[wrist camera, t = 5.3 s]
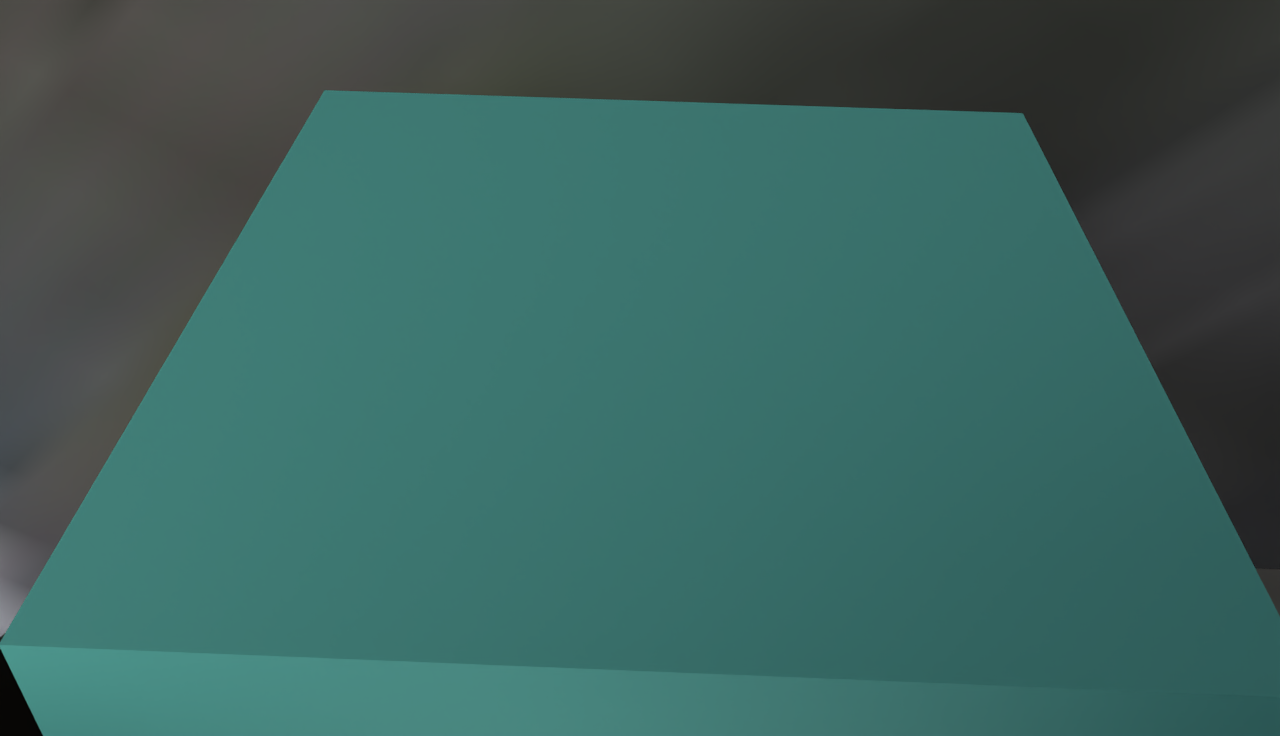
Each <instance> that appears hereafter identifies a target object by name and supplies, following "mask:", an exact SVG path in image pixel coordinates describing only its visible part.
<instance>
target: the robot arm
mask: <svg viewBox="0 0 1280 736" xmlns="http://www.w3.org/2000/svg"><path fill="white" fill-rule="evenodd" d="M4 635H5V634H4ZM4 635H2V636H1V637H0V642H1V640H2V638H3V637H4ZM0 736H43V735H42V732H41V730H40V728H39V726H38V724H37V722H36V720H35V718H34V716H33V714H32V712H31V710H30V708H29V706H28V704H27V702H26V700H25V698H24V696H23V694H22V692H21V690H20V688H19V686H18V684H17V681H16V679H15V677H14V675H13V673H12V671H11V669H10V667H9V665H8V663H7V661H6V659H5V657H4V655H3V653H2V651H1V649H0Z"/></svg>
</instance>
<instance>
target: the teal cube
mask: <svg viewBox="0 0 1280 736" xmlns="http://www.w3.org/2000/svg"><path fill="white" fill-rule="evenodd" d="M0 649H1V651H2V653H3V655H4V657H5V659H6V661H7V663H8V665H9V667H10V669H11V671H12V673H13V675H14V677H15V679H16V681H17V684H18V686H19V688H20V690H21V692H22V694H23V696H24V698H25V700H26V702H27V704H28V706H29V708H30V710H31V712H32V714H33V716H34V718H35V720H36V722H37V724H38V726H39V728H40V730H41V732H42V735H43V736H1280V616H1279V614H1278V612H1277V610H1276V608H1275V606H1274V604H1273V602H1272V600H1271V598H1270V596H1269V594H1268V592H1267V590H1266V588H1265V587H1264V585H1263V583H1262V581H1261V579H1260V577H1259V575H1258V573H1257V571H1256V569H1255V567H1254V565H1253V563H1252V561H1251V559H1250V557H1249V555H1248V553H1247V551H1246V549H1245V547H1244V545H1243V543H1242V541H1241V540H1240V538H1239V536H1238V534H1237V532H1236V530H1235V528H1234V526H1233V524H1232V522H1231V520H1230V518H1229V516H1228V514H1227V512H1226V510H1225V508H1224V506H1223V504H1222V502H1221V500H1220V498H1219V496H1218V495H1217V493H1216V491H1215V489H1214V487H1213V485H1212V483H1211V481H1210V479H1209V477H1208V475H1207V473H1206V471H1205V469H1204V467H1203V465H1202V463H1201V461H1200V459H1199V457H1198V455H1197V453H1196V451H1195V449H1194V448H1193V446H1192V444H1191V442H1190V440H1189V438H1188V436H1187V434H1186V432H1185V430H1184V428H1183V426H1182V424H1181V422H1180V420H1179V418H1178V416H1177V414H1176V412H1175V410H1174V408H1173V406H1172V404H1171V402H1170V401H1169V399H1168V397H1167V395H1166V393H1165V391H1164V389H1163V387H1162V385H1161V383H1160V381H1159V379H1158V377H1157V375H1156V373H1155V371H1154V369H1153V367H1152V365H1151V363H1150V361H1149V359H1148V357H1147V356H1146V354H1145V352H1144V350H1143V348H1142V346H1141V344H1140V342H1139V340H1138V338H1137V336H1136V334H1135V332H1134V330H1133V328H1132V326H1131V324H1130V322H1129V320H1128V318H1127V316H1126V314H1125V312H1124V310H1123V309H1122V307H1121V305H1120V303H1119V301H1118V299H1117V297H1116V295H1115V293H1114V291H1113V289H1112V287H1111V285H1110V283H1109V281H1108V279H1107V277H1106V275H1105V273H1104V271H1103V269H1102V267H1101V265H1100V263H1099V262H1098V260H1097V258H1096V256H1095V254H1094V252H1093V250H1092V248H1091V246H1090V244H1089V242H1088V240H1087V238H1086V236H1085V234H1084V232H1083V230H1082V228H1081V226H1080V224H1079V222H1078V220H1077V218H1076V217H1075V215H1074V213H1073V211H1072V209H1071V207H1070V205H1069V203H1068V201H1067V199H1066V197H1065V195H1064V193H1063V191H1062V189H1061V187H1060V185H1059V183H1058V181H1057V179H1056V177H1055V175H1054V173H1053V171H1052V170H1051V168H1050V166H1049V164H1048V162H1047V160H1046V158H1045V156H1044V154H1043V152H1042V150H1041V148H1040V146H1039V144H1038V142H1037V140H1036V138H1035V136H1034V134H1033V132H1032V130H1031V128H1030V126H1029V124H1028V123H1027V121H1026V119H1025V117H1024V115H1023V113H1003V112H972V111H941V110H911V109H880V108H850V107H819V106H789V105H758V104H727V103H697V102H666V101H636V100H605V99H574V98H544V97H513V96H483V95H452V94H421V93H391V92H360V91H330V90H325V91H324V92H323V94H322V96H321V97H320V99H319V101H318V102H317V104H316V106H315V108H314V109H313V111H312V113H311V114H310V116H309V118H308V120H307V121H306V123H305V125H304V126H303V128H302V130H301V131H300V133H299V135H298V137H297V138H296V140H295V142H294V143H293V145H292V147H291V148H290V150H289V152H288V154H287V155H286V157H285V159H284V160H283V162H282V164H281V165H280V167H279V169H278V171H277V172H276V174H275V176H274V177H273V179H272V181H271V182H270V184H269V186H268V188H267V189H266V191H265V193H264V194H263V196H262V198H261V199H260V201H259V203H258V205H257V206H256V208H255V210H254V211H253V213H252V215H251V216H250V218H249V220H248V222H247V223H246V225H245V227H244V228H243V230H242V232H241V233H240V235H239V237H238V239H237V240H236V242H235V244H234V245H233V247H232V249H231V250H230V252H229V254H228V256H227V257H226V259H225V261H224V262H223V264H222V266H221V267H220V269H219V271H218V273H217V274H216V276H215V278H214V279H213V281H212V283H211V284H210V286H209V288H208V290H207V291H206V293H205V295H204V296H203V298H202V300H201V302H200V303H199V305H198V307H197V308H196V310H195V312H194V313H193V315H192V317H191V319H190V320H189V322H188V324H187V325H186V327H185V329H184V330H183V332H182V334H181V336H180V337H179V339H178V341H177V342H176V344H175V346H174V347H173V349H172V351H171V353H170V354H169V356H168V358H167V359H166V361H165V363H164V364H163V366H162V368H161V370H160V371H159V373H158V375H157V376H156V378H155V380H154V381H153V383H152V385H151V387H150V388H149V390H148V392H147V393H146V395H145V397H144V398H143V400H142V402H141V404H140V405H139V407H138V409H137V410H136V412H135V414H134V415H133V417H132V419H131V421H130V422H129V424H128V426H127V427H126V429H125V431H124V432H123V434H122V436H121V438H120V439H119V441H118V443H117V444H116V446H115V448H114V449H113V451H112V453H111V455H110V456H109V458H108V460H107V461H106V463H105V465H104V466H103V468H102V470H101V472H100V473H99V475H98V477H97V478H96V480H95V482H94V484H93V485H92V487H91V489H90V490H89V492H88V494H87V495H86V497H85V499H84V501H83V502H82V504H81V506H80V507H79V509H78V511H77V512H76V514H75V516H74V518H73V519H72V521H71V523H70V524H69V526H68V528H67V529H66V531H65V533H64V535H63V536H62V538H61V540H60V541H59V543H58V545H57V546H56V548H55V550H54V552H53V553H52V555H51V557H50V558H49V560H48V562H47V563H46V565H45V567H44V569H43V570H42V572H41V574H40V575H39V577H38V579H37V580H36V582H35V584H34V586H33V587H32V589H31V591H30V592H29V594H28V596H27V597H26V599H25V601H24V603H23V604H22V606H21V608H20V609H19V611H18V613H17V614H16V616H15V618H14V620H13V621H12V623H11V625H10V626H9V628H8V630H7V631H6V633H5V635H4V637H3V638H2V640H1V642H0Z"/></svg>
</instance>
